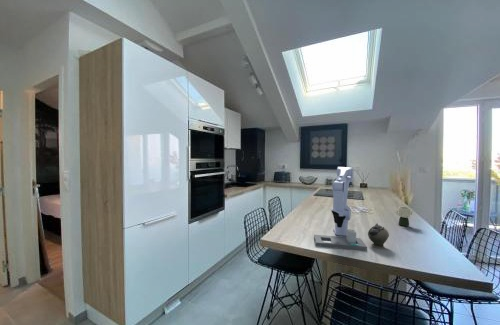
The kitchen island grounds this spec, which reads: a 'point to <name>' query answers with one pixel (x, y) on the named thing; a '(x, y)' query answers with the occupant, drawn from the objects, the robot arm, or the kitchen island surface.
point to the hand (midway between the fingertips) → (337, 225)
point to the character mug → (404, 215)
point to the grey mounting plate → (338, 242)
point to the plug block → (351, 236)
